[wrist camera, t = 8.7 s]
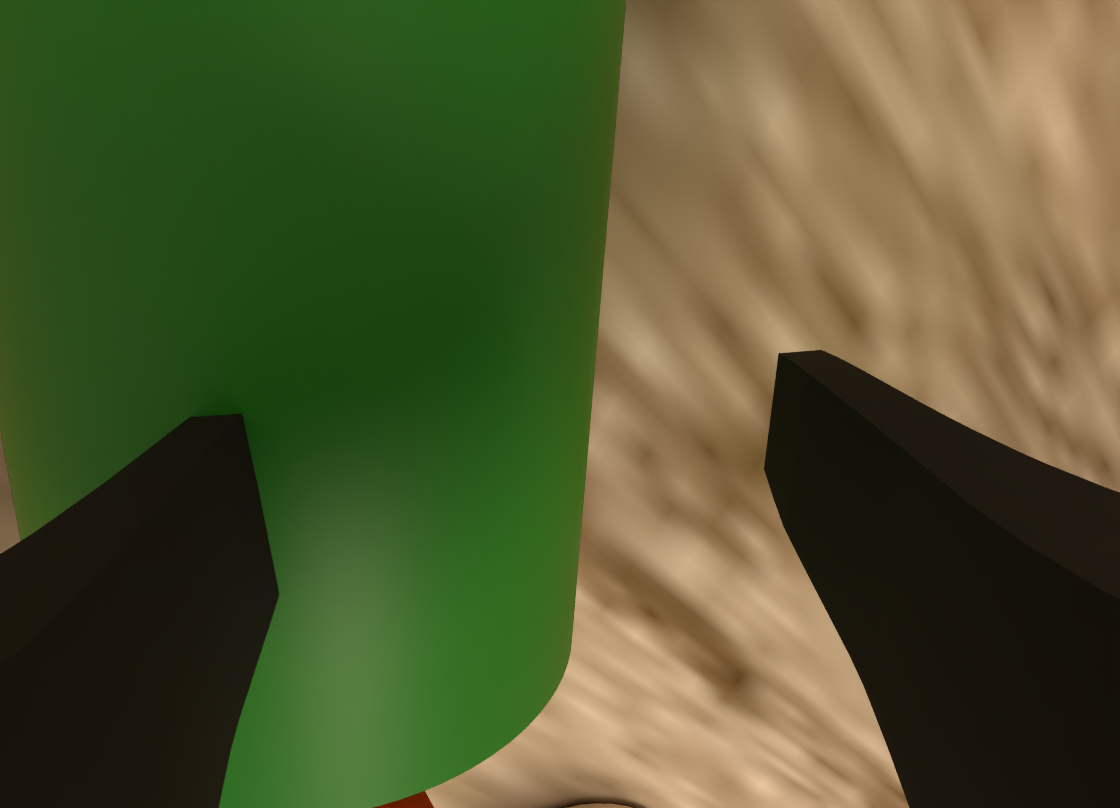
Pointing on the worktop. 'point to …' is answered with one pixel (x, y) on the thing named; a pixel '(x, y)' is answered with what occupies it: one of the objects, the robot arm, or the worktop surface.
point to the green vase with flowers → (328, 335)
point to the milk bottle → (599, 806)
